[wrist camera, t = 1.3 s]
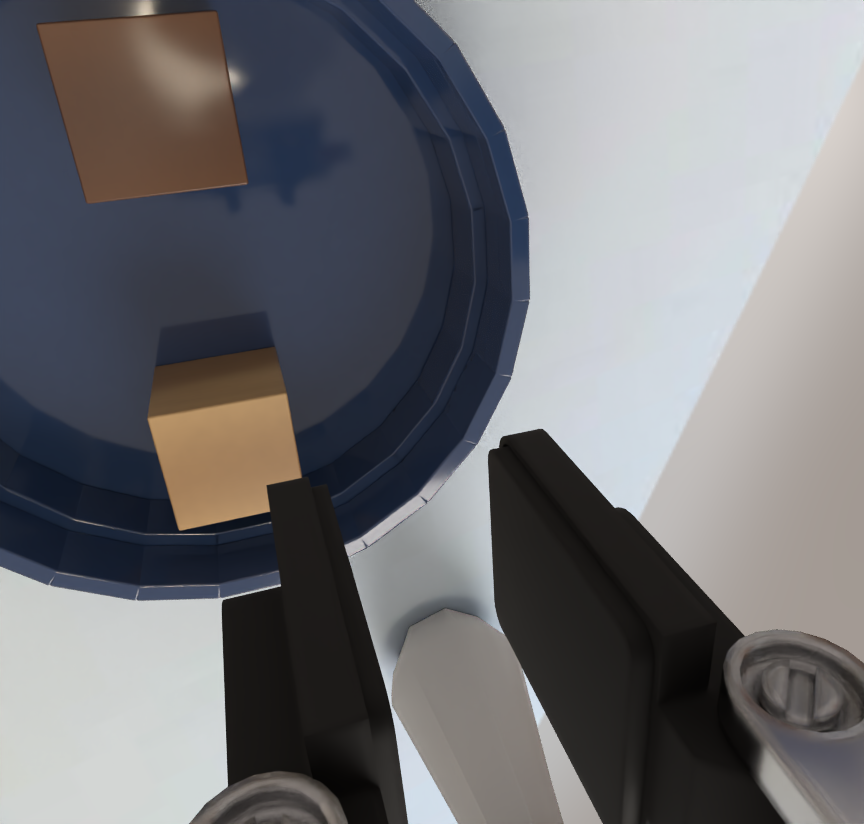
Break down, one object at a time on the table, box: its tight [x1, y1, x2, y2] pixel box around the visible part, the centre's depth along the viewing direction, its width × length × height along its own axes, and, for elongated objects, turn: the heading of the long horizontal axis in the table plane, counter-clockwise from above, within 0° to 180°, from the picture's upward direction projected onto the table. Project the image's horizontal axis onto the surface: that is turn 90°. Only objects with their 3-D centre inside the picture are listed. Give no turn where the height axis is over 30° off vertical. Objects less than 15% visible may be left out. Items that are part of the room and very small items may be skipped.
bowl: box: [0, 0, 530, 601], centre depth 22 cm, size 19×19×5 cm
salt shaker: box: [391, 608, 563, 824], centre depth 29 cm, size 6×6×13 cm
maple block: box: [147, 347, 302, 530], centre depth 24 cm, size 4×4×4 cm
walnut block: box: [36, 10, 248, 204], centre depth 20 cm, size 4×4×4 cm
